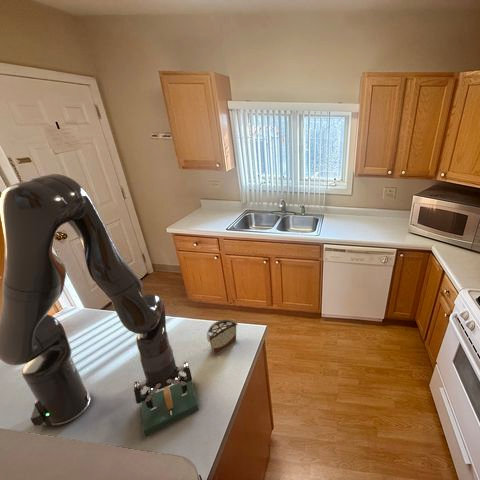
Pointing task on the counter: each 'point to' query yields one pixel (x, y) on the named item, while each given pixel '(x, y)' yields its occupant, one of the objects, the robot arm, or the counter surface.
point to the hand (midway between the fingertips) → (168, 398)
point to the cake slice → (222, 335)
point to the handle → (168, 397)
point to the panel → (162, 415)
